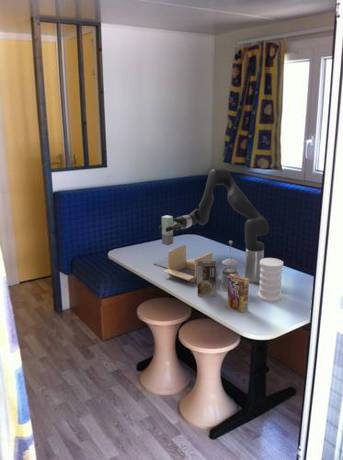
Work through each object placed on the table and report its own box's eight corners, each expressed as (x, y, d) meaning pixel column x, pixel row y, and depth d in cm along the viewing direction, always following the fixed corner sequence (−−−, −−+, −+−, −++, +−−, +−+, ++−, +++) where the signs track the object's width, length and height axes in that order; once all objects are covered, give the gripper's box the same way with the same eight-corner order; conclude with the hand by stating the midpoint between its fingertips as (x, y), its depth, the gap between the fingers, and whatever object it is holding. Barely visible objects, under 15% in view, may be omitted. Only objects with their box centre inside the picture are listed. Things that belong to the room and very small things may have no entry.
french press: (233, 282, 231) (234, 236, 224) (244, 291, 221) (246, 243, 213) (216, 285, 228) (217, 239, 220) (227, 294, 217) (228, 246, 210)
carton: (217, 272, 245) (218, 249, 241) (189, 286, 227) (189, 262, 224) (190, 264, 257) (190, 242, 253) (162, 276, 240) (161, 253, 236)
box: (173, 243, 255) (172, 216, 250) (167, 245, 252) (167, 218, 247) (167, 241, 258) (166, 215, 253) (162, 243, 254) (161, 216, 250)
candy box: (248, 309, 202) (249, 278, 197) (242, 312, 199) (244, 281, 194) (232, 303, 208) (233, 273, 203) (226, 306, 205) (227, 276, 200)
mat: (182, 263, 258) (182, 262, 258) (168, 269, 250) (168, 268, 250) (167, 258, 266) (167, 257, 266) (153, 264, 257) (153, 263, 257)
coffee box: (215, 291, 221) (216, 261, 216) (215, 297, 215) (216, 265, 210) (197, 290, 222) (197, 260, 217) (197, 296, 216) (197, 265, 211)
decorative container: (267, 289, 222) (268, 255, 217) (286, 297, 214) (289, 262, 209) (252, 296, 215) (253, 261, 210) (272, 304, 206) (274, 268, 201)
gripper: (173, 214, 265) (153, 220, 252) (192, 218, 255) (172, 225, 243) (173, 226, 267) (153, 233, 255) (192, 231, 258) (172, 238, 246)
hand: (163, 229), depth 249 cm, fingers closed on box, 4 cm apart
